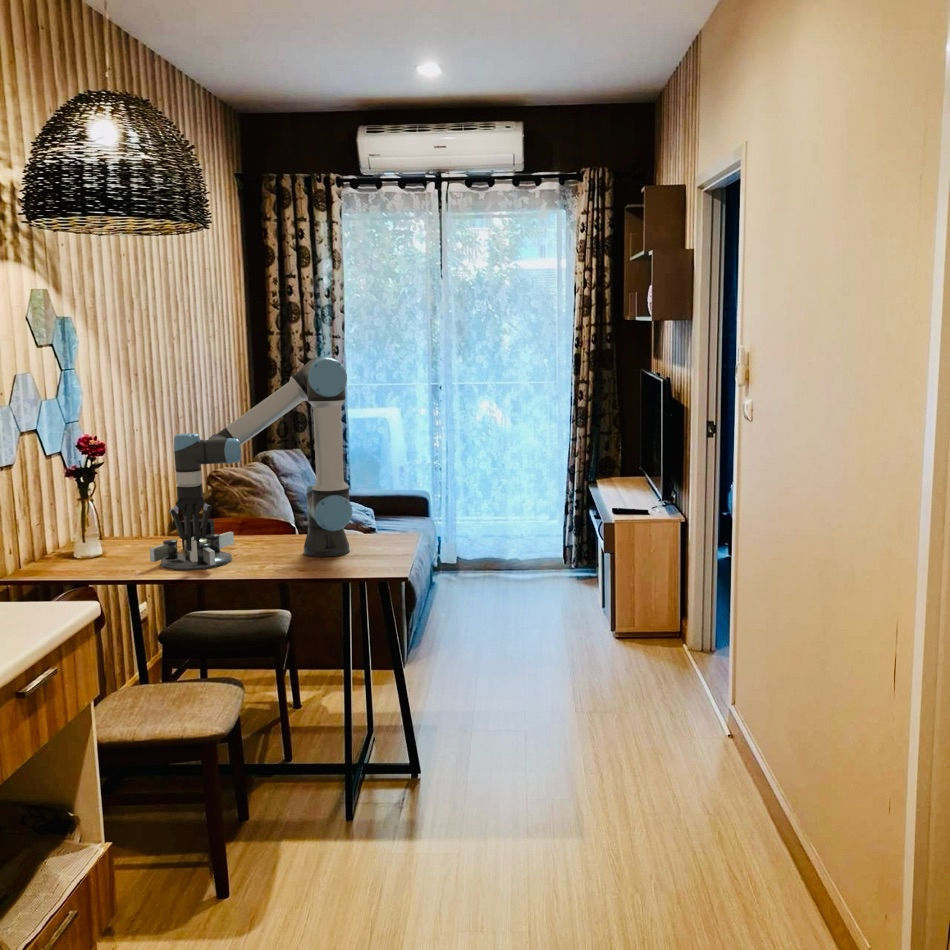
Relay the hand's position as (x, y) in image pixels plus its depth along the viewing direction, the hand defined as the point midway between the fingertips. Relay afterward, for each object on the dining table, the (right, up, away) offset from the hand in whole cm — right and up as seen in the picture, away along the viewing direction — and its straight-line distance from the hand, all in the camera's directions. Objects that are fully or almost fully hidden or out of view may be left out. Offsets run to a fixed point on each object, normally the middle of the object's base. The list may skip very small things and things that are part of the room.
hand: (193, 560), depth 296 cm
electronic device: (-8, +1, +34) cm, 35 cm away
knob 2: (+3, -2, +6) cm, 6 cm away
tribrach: (-4, -2, +15) cm, 16 cm away
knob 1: (-13, -1, +12) cm, 17 cm away
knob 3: (+2, +1, +25) cm, 25 cm away
